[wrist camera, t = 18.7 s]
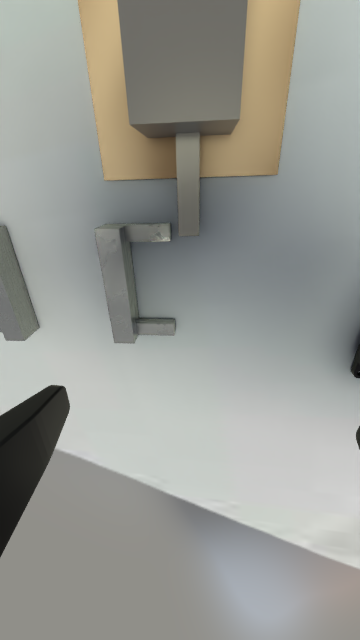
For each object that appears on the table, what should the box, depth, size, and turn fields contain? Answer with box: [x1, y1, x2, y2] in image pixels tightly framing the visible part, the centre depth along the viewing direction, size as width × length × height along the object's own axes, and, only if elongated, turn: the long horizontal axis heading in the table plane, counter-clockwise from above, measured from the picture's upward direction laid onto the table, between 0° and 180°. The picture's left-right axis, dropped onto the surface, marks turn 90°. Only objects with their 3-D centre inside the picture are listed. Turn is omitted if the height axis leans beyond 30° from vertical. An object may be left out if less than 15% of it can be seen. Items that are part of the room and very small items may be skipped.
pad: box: [78, 0, 300, 180], centre depth 13 cm, size 10×10×1 cm
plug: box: [117, 0, 248, 236], centre depth 11 cm, size 4×14×4 cm, turn 2°
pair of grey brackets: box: [0, 223, 175, 343], centre depth 18 cm, size 16×8×2 cm, turn 92°
